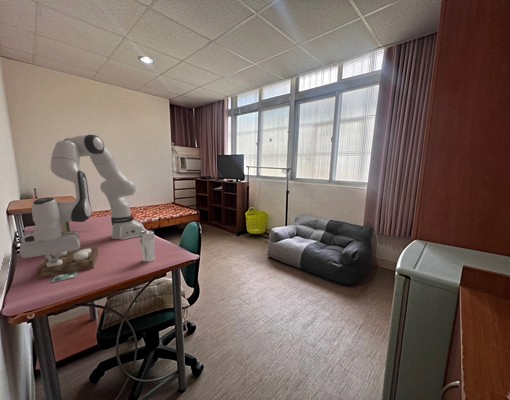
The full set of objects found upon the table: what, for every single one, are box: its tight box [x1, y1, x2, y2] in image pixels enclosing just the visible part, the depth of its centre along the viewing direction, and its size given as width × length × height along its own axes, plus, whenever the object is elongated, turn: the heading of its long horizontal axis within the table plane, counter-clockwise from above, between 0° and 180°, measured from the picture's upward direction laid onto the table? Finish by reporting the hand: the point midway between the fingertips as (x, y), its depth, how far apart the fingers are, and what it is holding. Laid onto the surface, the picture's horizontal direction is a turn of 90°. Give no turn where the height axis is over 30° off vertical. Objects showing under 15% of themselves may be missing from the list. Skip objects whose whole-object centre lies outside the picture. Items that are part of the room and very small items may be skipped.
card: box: [51, 271, 79, 284], centre depth 98 cm, size 8×6×1 cm
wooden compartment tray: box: [36, 246, 99, 280], centre depth 110 cm, size 20×20×4 cm
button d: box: [46, 260, 63, 267], centre depth 103 cm, size 6×6×3 cm
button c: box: [73, 251, 89, 262], centre depth 107 cm, size 6×6×3 cm
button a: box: [78, 248, 92, 253], centre depth 116 cm, size 6×6×3 cm
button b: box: [52, 252, 67, 258], centre depth 111 cm, size 6×6×3 cm
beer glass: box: [139, 229, 156, 263], centre depth 114 cm, size 7×7×15 cm
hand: (54, 262), depth 102 cm, fingers closed, pressing on button d
